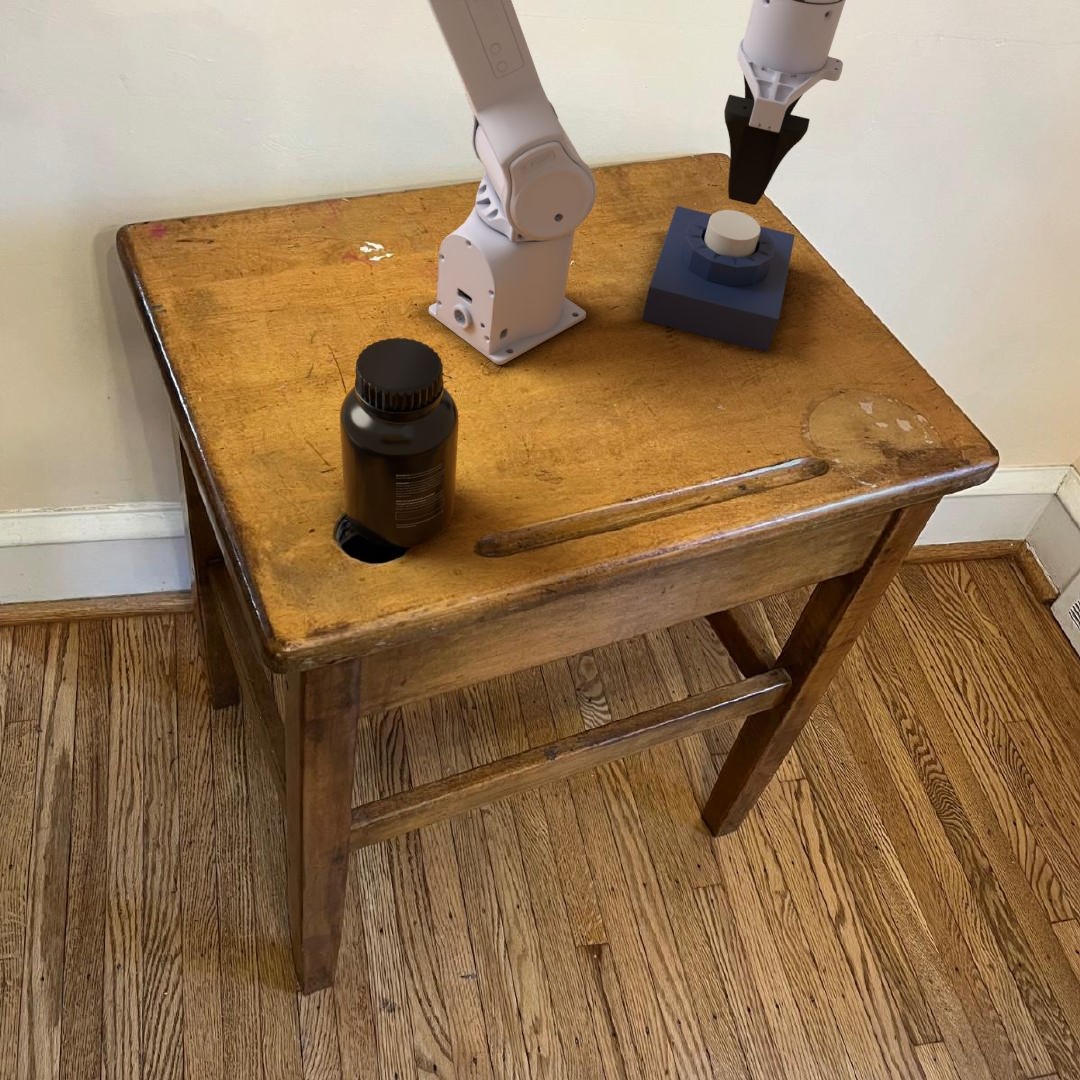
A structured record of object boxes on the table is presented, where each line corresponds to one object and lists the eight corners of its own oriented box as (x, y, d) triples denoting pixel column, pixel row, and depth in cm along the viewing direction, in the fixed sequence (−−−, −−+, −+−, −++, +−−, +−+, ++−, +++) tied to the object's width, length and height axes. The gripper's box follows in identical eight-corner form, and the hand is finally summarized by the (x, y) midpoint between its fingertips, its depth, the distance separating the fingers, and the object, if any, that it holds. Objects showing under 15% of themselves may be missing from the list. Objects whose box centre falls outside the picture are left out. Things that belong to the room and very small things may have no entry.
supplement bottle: (460, 480, 70) (472, 335, 61) (444, 560, 66) (454, 415, 56) (356, 465, 70) (352, 317, 61) (332, 543, 65) (324, 396, 56)
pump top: (751, 264, 82) (757, 244, 81) (700, 251, 82) (705, 232, 81) (757, 236, 84) (763, 217, 83) (708, 224, 85) (713, 205, 83)
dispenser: (767, 352, 82) (785, 299, 79) (641, 320, 83) (653, 266, 80) (784, 267, 90) (801, 215, 87) (668, 238, 91) (681, 185, 87)
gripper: (858, 45, 64) (792, 242, 74) (871, -43, 73) (811, 142, 83) (742, 19, 64) (692, 217, 74) (769, -65, 74) (722, 121, 84)
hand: (748, 176), depth 79 cm, fingers open, 6 cm apart
